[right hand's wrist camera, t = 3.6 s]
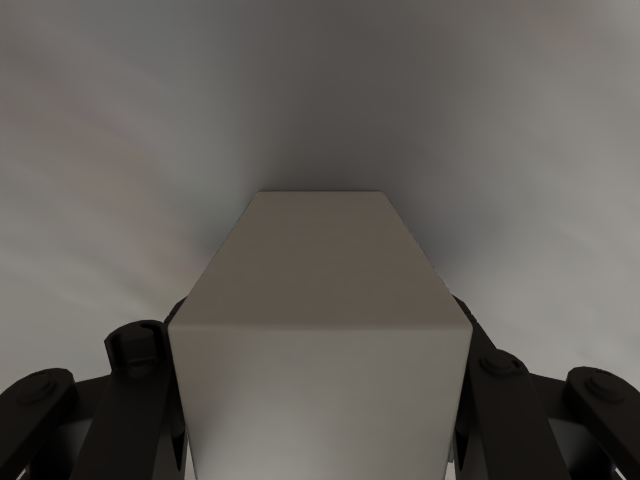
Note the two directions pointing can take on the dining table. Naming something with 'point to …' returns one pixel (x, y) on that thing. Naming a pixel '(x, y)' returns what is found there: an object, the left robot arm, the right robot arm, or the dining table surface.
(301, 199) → the bar
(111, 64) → the dining table surface
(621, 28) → the dining table surface
